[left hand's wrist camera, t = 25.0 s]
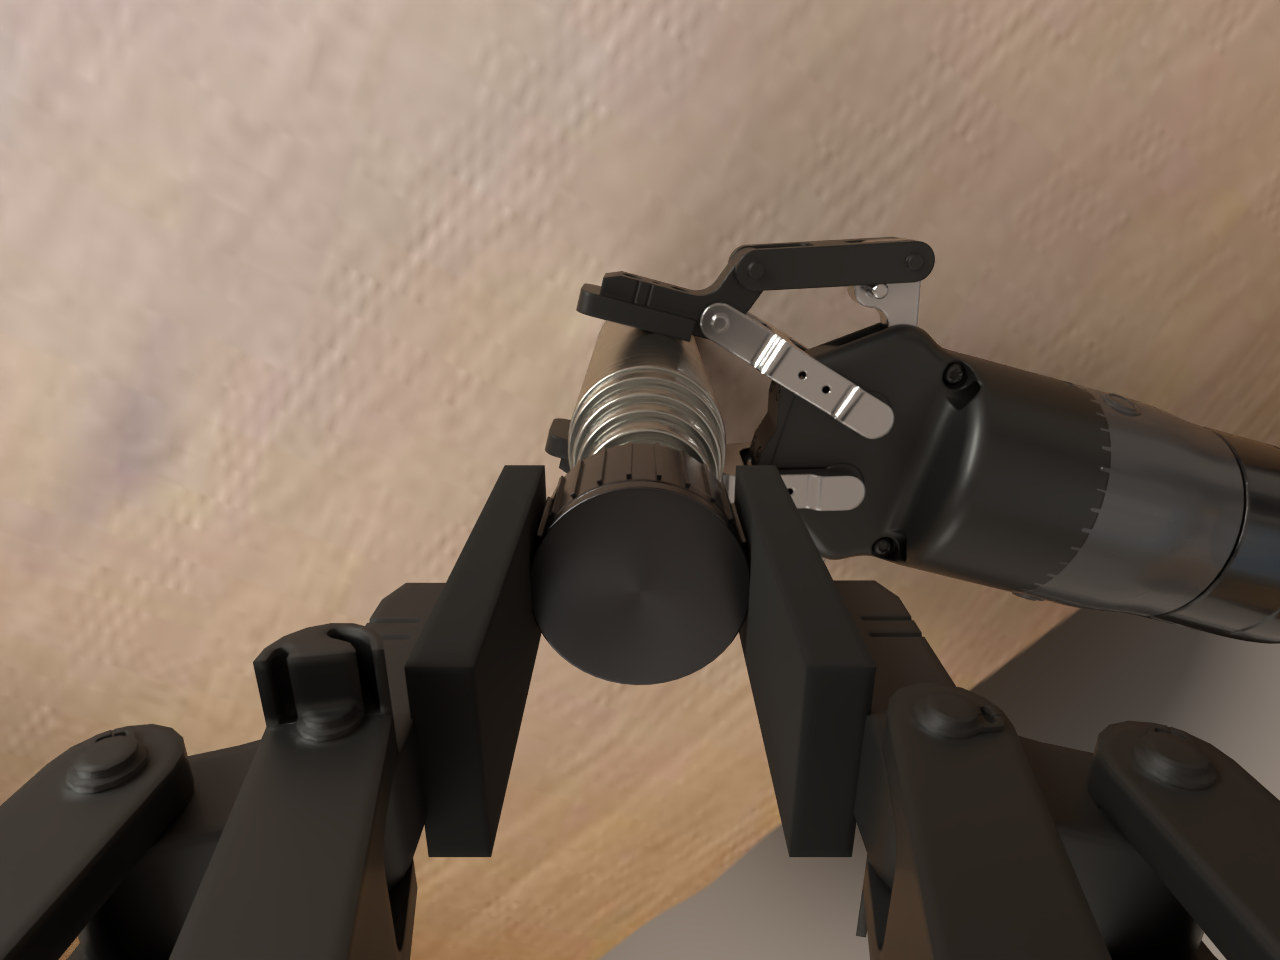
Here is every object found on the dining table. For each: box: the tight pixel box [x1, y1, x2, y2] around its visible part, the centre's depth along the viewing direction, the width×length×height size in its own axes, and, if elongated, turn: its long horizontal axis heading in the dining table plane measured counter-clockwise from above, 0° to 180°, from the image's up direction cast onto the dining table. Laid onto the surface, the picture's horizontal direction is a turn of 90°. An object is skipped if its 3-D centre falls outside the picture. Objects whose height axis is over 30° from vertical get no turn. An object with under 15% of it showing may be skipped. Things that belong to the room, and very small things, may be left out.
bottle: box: [568, 321, 726, 482], centre depth 22 cm, size 4×4×19 cm
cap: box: [530, 442, 750, 685], centre depth 14 cm, size 4×4×2 cm
